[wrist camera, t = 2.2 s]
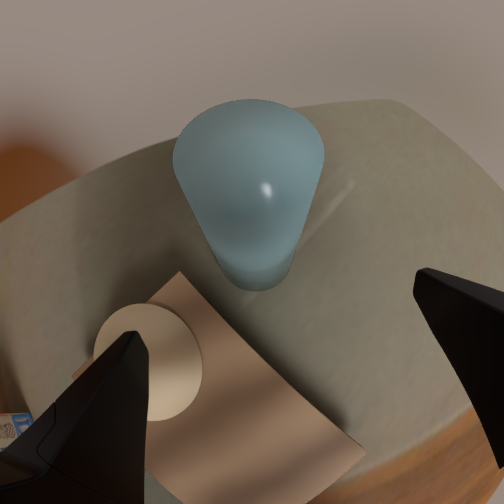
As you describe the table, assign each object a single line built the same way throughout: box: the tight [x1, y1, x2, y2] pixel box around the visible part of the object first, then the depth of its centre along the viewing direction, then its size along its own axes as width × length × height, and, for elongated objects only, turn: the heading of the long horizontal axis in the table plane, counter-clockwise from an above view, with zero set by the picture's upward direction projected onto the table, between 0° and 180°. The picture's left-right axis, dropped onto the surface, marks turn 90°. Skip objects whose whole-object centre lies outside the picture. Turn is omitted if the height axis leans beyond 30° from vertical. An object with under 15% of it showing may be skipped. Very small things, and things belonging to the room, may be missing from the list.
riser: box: [72, 271, 367, 504], centre depth 16 cm, size 19×12×3 cm, turn 44°
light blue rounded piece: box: [173, 99, 324, 291], centre depth 15 cm, size 6×6×12 cm
